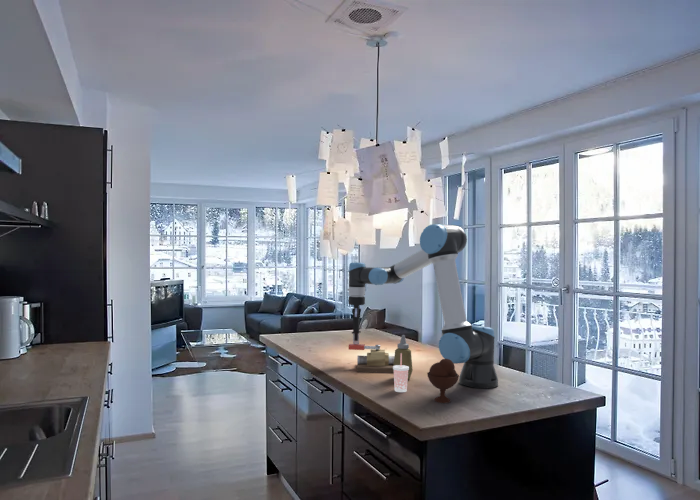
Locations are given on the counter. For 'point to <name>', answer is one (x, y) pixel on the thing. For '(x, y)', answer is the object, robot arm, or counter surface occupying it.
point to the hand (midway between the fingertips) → (356, 347)
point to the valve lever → (363, 347)
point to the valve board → (377, 369)
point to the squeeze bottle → (403, 355)
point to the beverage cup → (400, 377)
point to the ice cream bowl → (443, 378)
